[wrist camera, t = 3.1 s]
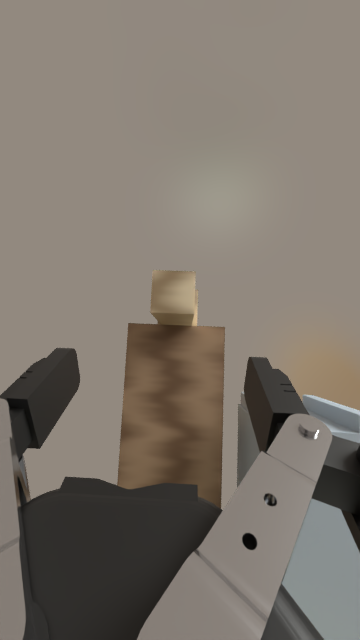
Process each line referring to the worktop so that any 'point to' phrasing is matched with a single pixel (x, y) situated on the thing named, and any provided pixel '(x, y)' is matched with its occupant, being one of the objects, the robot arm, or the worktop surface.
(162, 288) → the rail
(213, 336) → the walnut block
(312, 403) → the holder
